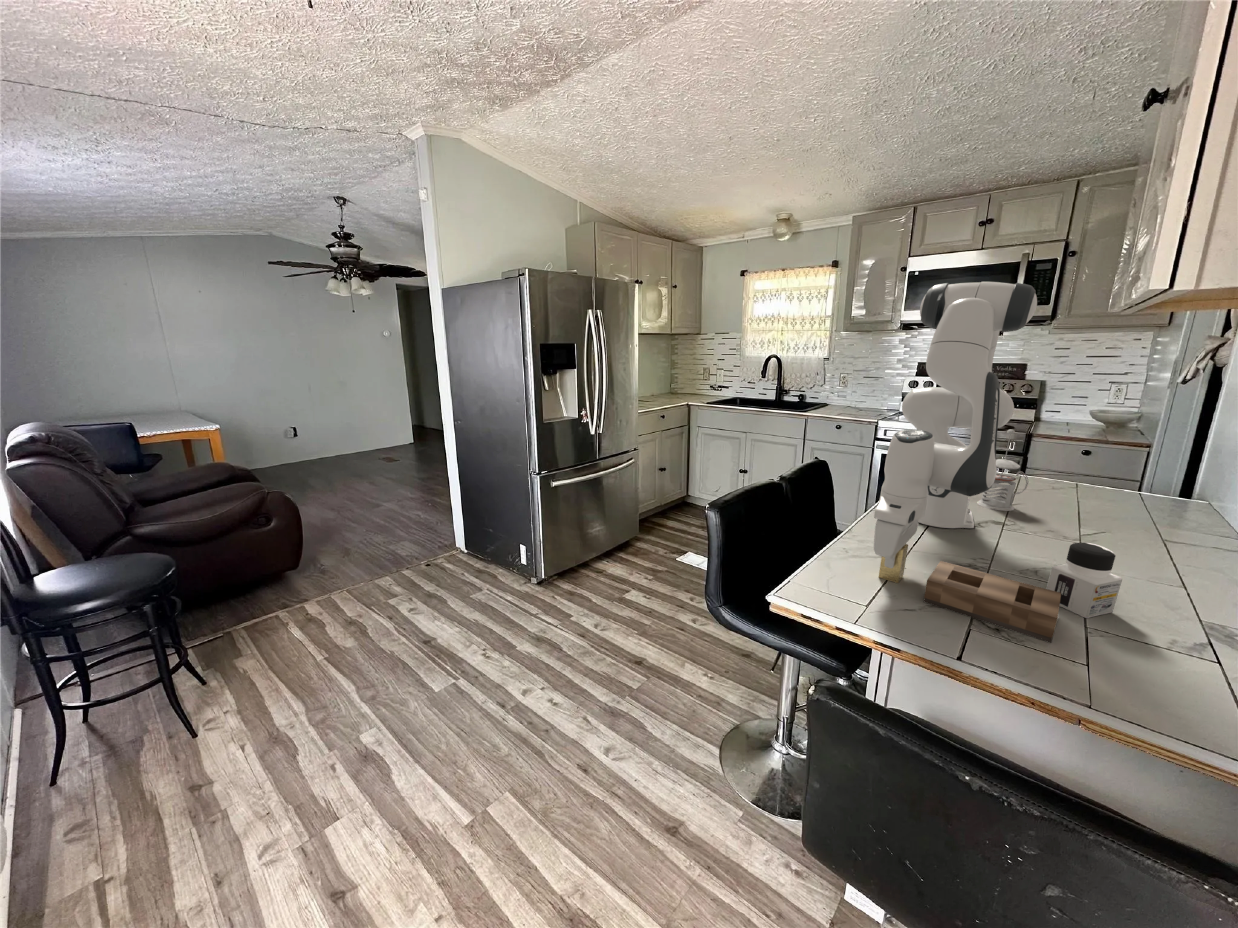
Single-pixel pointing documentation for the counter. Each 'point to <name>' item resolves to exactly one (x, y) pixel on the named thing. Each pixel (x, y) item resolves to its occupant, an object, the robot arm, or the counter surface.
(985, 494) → the french press
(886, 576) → the light wooden square bit
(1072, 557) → the container
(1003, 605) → the walnut socket block
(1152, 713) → the counter surface
